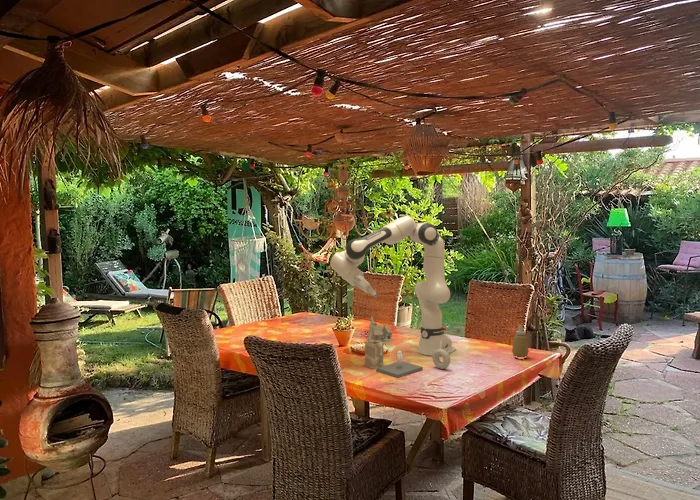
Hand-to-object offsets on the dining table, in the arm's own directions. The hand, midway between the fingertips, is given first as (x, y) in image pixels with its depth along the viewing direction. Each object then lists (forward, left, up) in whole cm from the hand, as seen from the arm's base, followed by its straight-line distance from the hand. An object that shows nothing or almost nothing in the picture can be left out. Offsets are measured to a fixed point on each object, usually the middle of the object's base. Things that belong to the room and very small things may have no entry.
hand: (376, 295), depth 257 cm
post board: (-1, +15, -35) cm, 38 cm away
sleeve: (+3, +1, -35) cm, 35 cm away
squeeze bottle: (-63, +44, -36) cm, 85 cm away
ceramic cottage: (-35, -32, -36) cm, 60 cm away
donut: (-18, +27, -36) cm, 48 cm away
